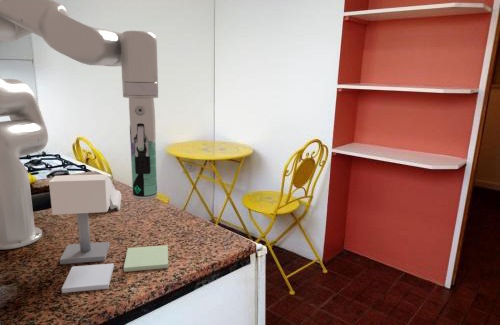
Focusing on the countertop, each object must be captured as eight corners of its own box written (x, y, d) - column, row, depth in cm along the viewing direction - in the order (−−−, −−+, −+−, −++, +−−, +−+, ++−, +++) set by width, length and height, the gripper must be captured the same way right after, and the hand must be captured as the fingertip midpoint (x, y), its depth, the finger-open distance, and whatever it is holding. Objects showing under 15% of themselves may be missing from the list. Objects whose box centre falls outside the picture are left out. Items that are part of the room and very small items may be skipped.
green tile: (123, 271, 84) (123, 267, 84) (127, 251, 94) (127, 247, 94) (168, 267, 87) (168, 264, 86) (167, 248, 96) (167, 245, 96)
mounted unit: (55, 264, 86) (46, 183, 82) (64, 249, 94) (56, 174, 89) (109, 260, 89) (103, 181, 84) (113, 245, 97) (109, 172, 92)
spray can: (149, 190, 90) (146, 109, 85) (161, 196, 86) (159, 111, 82) (128, 195, 86) (124, 110, 82) (140, 201, 83) (136, 112, 78)
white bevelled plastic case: (119, 210, 121) (107, 184, 118) (105, 216, 120) (92, 189, 117) (121, 194, 136) (110, 171, 133) (109, 199, 136) (97, 175, 132)
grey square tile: (62, 292, 76) (61, 288, 75) (72, 270, 84) (72, 266, 84) (108, 288, 78) (107, 284, 77) (113, 267, 86) (113, 263, 86)
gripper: (157, 93, 73) (160, 179, 78) (158, 89, 90) (160, 161, 94) (118, 92, 72) (122, 181, 76) (126, 88, 88) (130, 161, 92)
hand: (143, 169), depth 85 cm, fingers closed on spray can, 5 cm apart
